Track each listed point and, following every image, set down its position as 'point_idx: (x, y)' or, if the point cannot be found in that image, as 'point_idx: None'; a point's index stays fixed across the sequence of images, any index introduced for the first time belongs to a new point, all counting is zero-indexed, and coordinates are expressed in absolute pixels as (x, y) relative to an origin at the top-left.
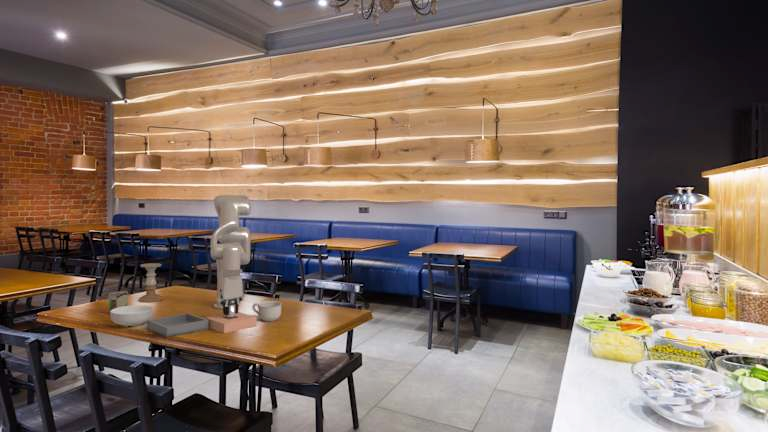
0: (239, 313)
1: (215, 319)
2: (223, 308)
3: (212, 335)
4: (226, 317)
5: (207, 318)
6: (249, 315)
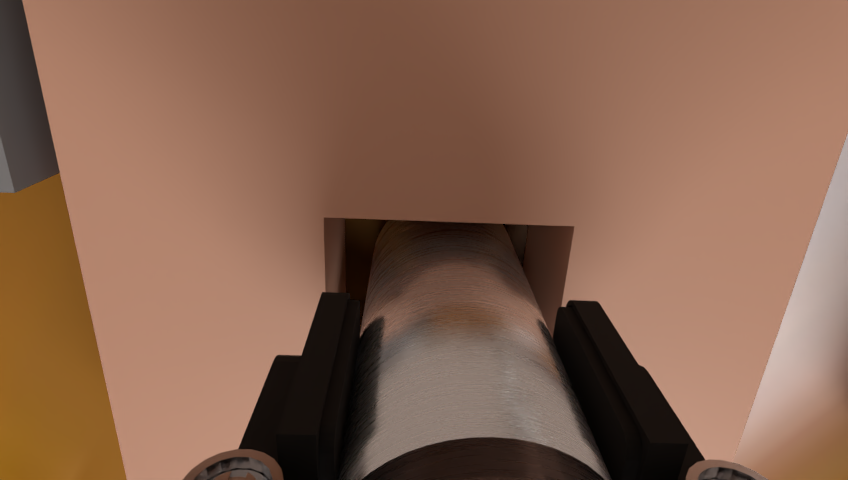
0: (761, 201)
1: (144, 268)
2: (251, 437)
3: (50, 434)
4: (364, 312)
5: (36, 62)
6: (724, 440)
